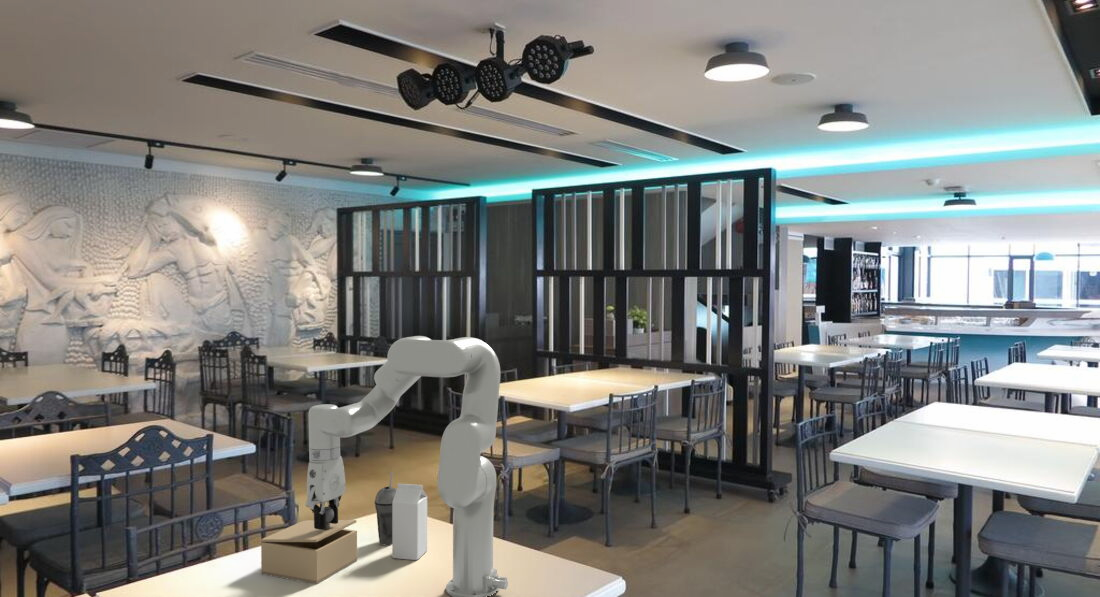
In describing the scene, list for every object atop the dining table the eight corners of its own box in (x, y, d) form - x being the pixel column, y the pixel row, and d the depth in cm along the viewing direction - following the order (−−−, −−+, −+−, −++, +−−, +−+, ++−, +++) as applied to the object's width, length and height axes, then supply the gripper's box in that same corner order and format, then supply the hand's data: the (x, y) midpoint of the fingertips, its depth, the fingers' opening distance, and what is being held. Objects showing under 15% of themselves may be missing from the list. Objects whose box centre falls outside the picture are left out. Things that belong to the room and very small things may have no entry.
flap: (356, 522, 192) (354, 498, 192) (316, 542, 177) (313, 515, 177) (304, 522, 198) (301, 499, 198) (261, 541, 183) (258, 516, 183)
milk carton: (417, 560, 193) (417, 488, 192) (392, 558, 194) (392, 487, 194) (427, 551, 200) (427, 481, 199) (402, 549, 201) (402, 480, 201)
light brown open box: (357, 561, 192) (356, 530, 192) (317, 584, 177) (317, 551, 177) (304, 552, 198) (304, 523, 198) (261, 574, 183) (261, 542, 183)
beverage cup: (373, 539, 209) (373, 469, 208) (399, 536, 211) (399, 467, 210) (375, 548, 202) (375, 475, 201) (402, 545, 204) (402, 473, 204)
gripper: (315, 462, 176) (316, 538, 177) (357, 448, 192) (358, 517, 192) (290, 460, 179) (291, 534, 179) (333, 446, 195) (334, 515, 195)
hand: (326, 525), depth 186 cm, fingers closed on flap, 4 cm apart
